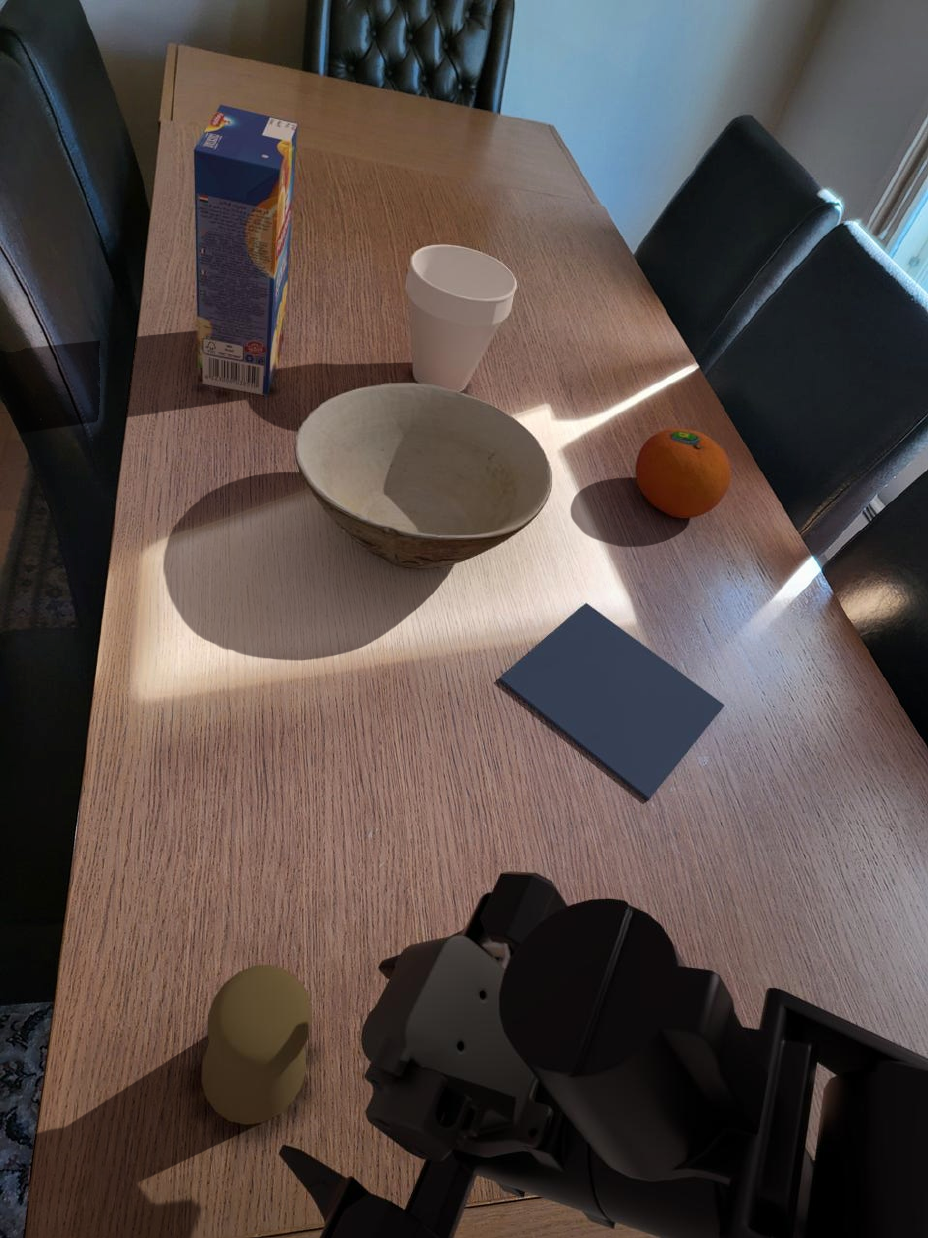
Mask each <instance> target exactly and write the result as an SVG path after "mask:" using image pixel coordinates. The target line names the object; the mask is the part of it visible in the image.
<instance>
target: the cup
mask: <svg viewBox="0 0 928 1238" xmlns="http://www.w3.org/2000/svg"><path fill="white" fill-rule="evenodd" d="M517 288H518V283H517V278H516V276H514V274H513V272H512V271H511V270H510V269H509V268H508V267H507V265H505V264H504V263H502V262H501V261H500V260H498V259H496V258H495V257H492V256H490V255H488V254H486V253H485V252H483V251H482V252H481V251H478V250H477V249H476V250H475V249H473V248H470V247H466V246H465V247H464V246H460V245H453V244H430V245H427V246H421V248H418V249H417V250H416V251H414V252H413V253H412V255H410V258H409V268H408V270H407V275H406V278H405V285H404V290H405V292H406V294H407V298H408V311H409V312H408V313H409V314H408V316H409V328H410V329H409V330H410V347H411V350H410V351H411V363H412V364H411V365H412V366H411V367H412V376H413V379H414V380H415V381H416V383H424V384H431V385H435V386H440V387H444V388H447V389H451V390H455V391H458V392H461V393H462V392H463V391H464V390H465V389H466V387H467V386H468V384H469V382H470V380H471V379H472V377H473V375H474V373H475V372H476V369H477V368H478V367H479V365H480V362H481V360H482V358H483V356H484V355H485V353H486V352H487V350H488V348H489V346H490V344H491V343H492V341H493V339H494V337H495V335H496V333H497V331H498V329H499V328H500V326H501V324H502V322H503V321H505V320H506V319H507V318H508V317H509V316H510V313H511V311H512V307H513V301H514V298H515V292H516V291H517Z"/></svg>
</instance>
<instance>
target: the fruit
mask: <svg viewBox="0 0 928 1238" xmlns="http://www.w3.org/2000/svg"><path fill="white" fill-rule="evenodd" d="M731 476H732V473H731V466H730V462H729V458H728V457H727V454H726V452H725V451H724V449H723V448H722V447H721V446H720V445H719V443H717V442H716V441H714V440H713V439H711V438H710V437H709V436H707V435H705V434H703V433H702V432H699V431H696V430H692V429H691V430H690V429H681V428H668V429H664V430H661V431H659V432H657V433H655V434H653V435H652V436H650V437H649V438H648V439H647V440H646V441H645V442H644V443H643V445H642V446H641V447H640V450H639V452H638V454H637V458H636V463H635V478H636V483H637V487H638V489H639V490H640V492H641V493H642V495H643V496H644V497H645V498H646V500H647V501H648V502H649V503H650V504H651V505H653V506H654V507H655V508H657V509H658V510H660V511H662V512H663V513H665V514H667V515H669V516H671V517H673V518H678V519H679V518H680V519H689V518H696V517H700V516H702V515H704V514H706V513H708V512H710V511H711V510H713V509H714V508H716V507H717V506H718V505H719V504H720V503H721V501H722V500H723V499H724V497H725V496H726V494H727V492H728V489H729V486H730V482H731Z"/></svg>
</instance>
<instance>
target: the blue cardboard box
mask: <svg viewBox="0 0 928 1238" xmlns="http://www.w3.org/2000/svg"><path fill="white" fill-rule="evenodd" d="M298 124H299V123H298V122H296V121H295V122H294V121H290V120H288V119H287V120H286V119H282V118H278V117H273V116H270V115H265V114H261V113H257V112H253V111H249V110H244V109H241V108H236V107H232V106H228V105H224V104H219V106H218V108H217V110H216V111H215V113H214V114H213V117H212V118H211V120H210V121H209V123H208V125H207V126H206V128H205V130H204V131H203V133H202V134H201V137H200V138H199V140H198V142H197V143H196V145H195V147H194V148H193V173H194V175H193V176H194V219H195V220H194V222H195V223H194V225H195V226H194V227H195V269H196V270H195V271H196V272H195V273H196V319H197V361H198V362H197V367H198V369H197V371H198V384H203V385H208V386H213V387H219V388H223V389H228V390H229V389H230V390H234V391H240V392H246V393H249V394H250V393H251V394H257V395H260V396H261V395H263V396H267V397H268V396H269V393H270V390H271V386H272V383H273V380H274V376H275V372H276V369H277V365H278V361H279V358H280V354H281V352H282V347H283V344H284V340H285V327H286V326H285V325H286V312H287V294H288V279H289V264H290V263H289V262H290V247H291V232H292V217H293V202H294V201H293V200H294V187H295V186H294V185H295V171H296V169H295V168H296V156H297V155H296V154H297V142H298V141H297V139H298Z"/></svg>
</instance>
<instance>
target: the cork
mask: <svg viewBox="0 0 928 1238" xmlns="http://www.w3.org/2000/svg"><path fill="white" fill-rule="evenodd" d="M220 987H221V988H219V990H218V992H217V993H216V995H215V996H214V997H213V998H212V1003H211V1005H210V1007H209V1011H208V1013H207V1030H206V1032H207V1038H208V1042H209V1043H208V1045H207V1048H206V1050H205V1054H204V1056H203V1060H202V1063H201V1080H200V1081H201V1084H202V1088H203V1092H204V1095H205V1098H206V1100H207V1102H208V1103H209V1104H210V1106H211V1107H212V1109H213V1111H215V1112H216V1113H217V1114H218V1115H220V1116H221V1117H223V1118H224V1119H226V1120H227V1121H229V1122H232V1123H237V1124H240V1125H245V1126H247V1125H254V1124H261V1123H265V1122H267V1121H269V1120H272V1119H273V1118H275V1117H277V1116H279V1115H281V1113H282V1112H283V1111H285V1109H287V1108H288V1107H289V1106H290V1105H291V1104H292V1103H293V1102H294V1100H295V1099H296V1097H297V1095H298V1093H299V1092H300V1090H301V1089H302V1087H303V1083H304V1079H305V1076H306V1072H307V1051H306V1046H305V1045H306V1044H307V1042H308V1040H309V1036H310V1033H311V1028H312V1025H313V1004H312V1002H311V998H310V996H309V993H308V991H307V989H306V987H305V986H304V984H303V983H302V981H300V980H299V978H298V977H297V976H296V975H295V974H293V973H292V972H290V971H289V970H287V969H286V968H284V967H281V966H276V965H272V964H259V965H252V966H250V967H247V968H245V969H243V970H239V971H238V972H237V973H236V974H234V975H233V976H232V977H230V978H229V979H228V980H227V981H225V982H224V983H223V984H222V986H220Z"/></svg>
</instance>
